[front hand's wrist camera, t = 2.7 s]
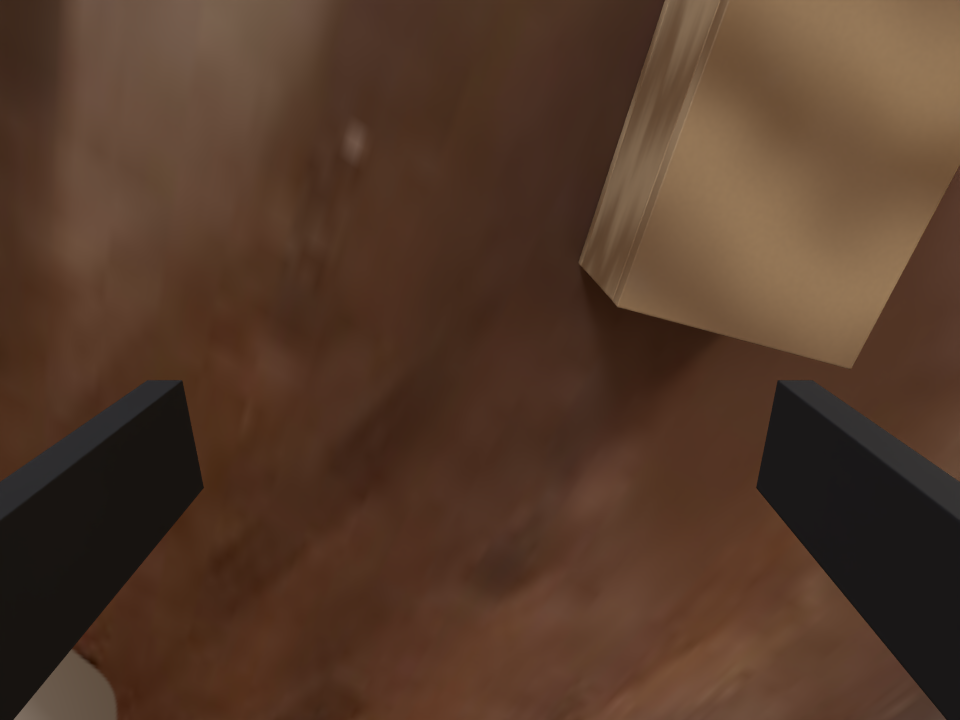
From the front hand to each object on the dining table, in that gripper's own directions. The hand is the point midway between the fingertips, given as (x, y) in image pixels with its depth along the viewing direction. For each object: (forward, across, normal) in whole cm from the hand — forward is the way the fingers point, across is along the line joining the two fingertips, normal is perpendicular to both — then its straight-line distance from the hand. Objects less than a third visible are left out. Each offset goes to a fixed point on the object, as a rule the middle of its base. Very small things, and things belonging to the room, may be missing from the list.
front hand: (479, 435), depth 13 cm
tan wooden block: (+19, -12, -7) cm, 23 cm away
